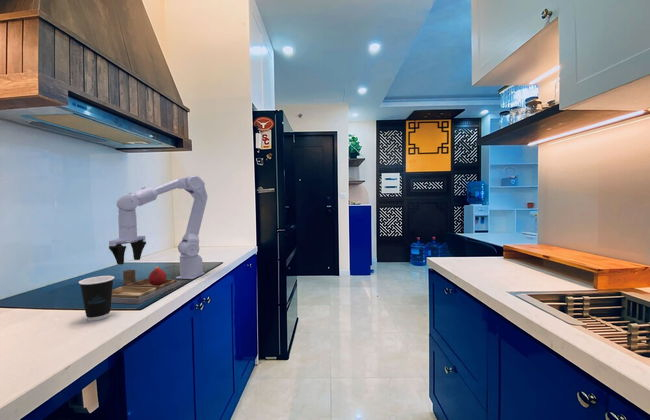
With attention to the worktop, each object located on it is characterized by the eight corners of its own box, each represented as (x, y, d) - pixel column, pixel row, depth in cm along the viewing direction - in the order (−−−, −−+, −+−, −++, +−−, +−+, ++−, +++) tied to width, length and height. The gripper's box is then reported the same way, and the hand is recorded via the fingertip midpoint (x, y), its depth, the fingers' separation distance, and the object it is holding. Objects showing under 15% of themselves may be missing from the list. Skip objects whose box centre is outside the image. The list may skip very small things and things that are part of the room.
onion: (161, 289, 104) (160, 268, 104) (145, 290, 104) (144, 268, 104) (169, 285, 110) (169, 264, 110) (155, 285, 110) (154, 264, 110)
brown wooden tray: (146, 283, 114) (146, 279, 114) (180, 285, 112) (180, 281, 111) (97, 302, 94) (97, 297, 94) (138, 304, 91) (138, 299, 91)
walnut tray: (135, 283, 114) (134, 267, 113) (176, 285, 111) (175, 268, 111) (116, 290, 105) (115, 273, 105) (160, 292, 102) (159, 274, 102)
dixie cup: (104, 310, 86) (103, 274, 86) (122, 313, 83) (120, 276, 83) (73, 320, 79) (71, 281, 78) (91, 325, 76) (90, 284, 76)
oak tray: (113, 291, 104) (112, 274, 103) (157, 293, 101) (156, 275, 101) (90, 300, 95) (89, 280, 95) (137, 302, 92) (137, 282, 92)
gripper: (134, 225, 116) (135, 258, 117) (101, 228, 102) (102, 266, 102) (149, 225, 115) (150, 258, 115) (118, 228, 101) (119, 266, 101)
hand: (129, 262), depth 109 cm, fingers open, 7 cm apart
